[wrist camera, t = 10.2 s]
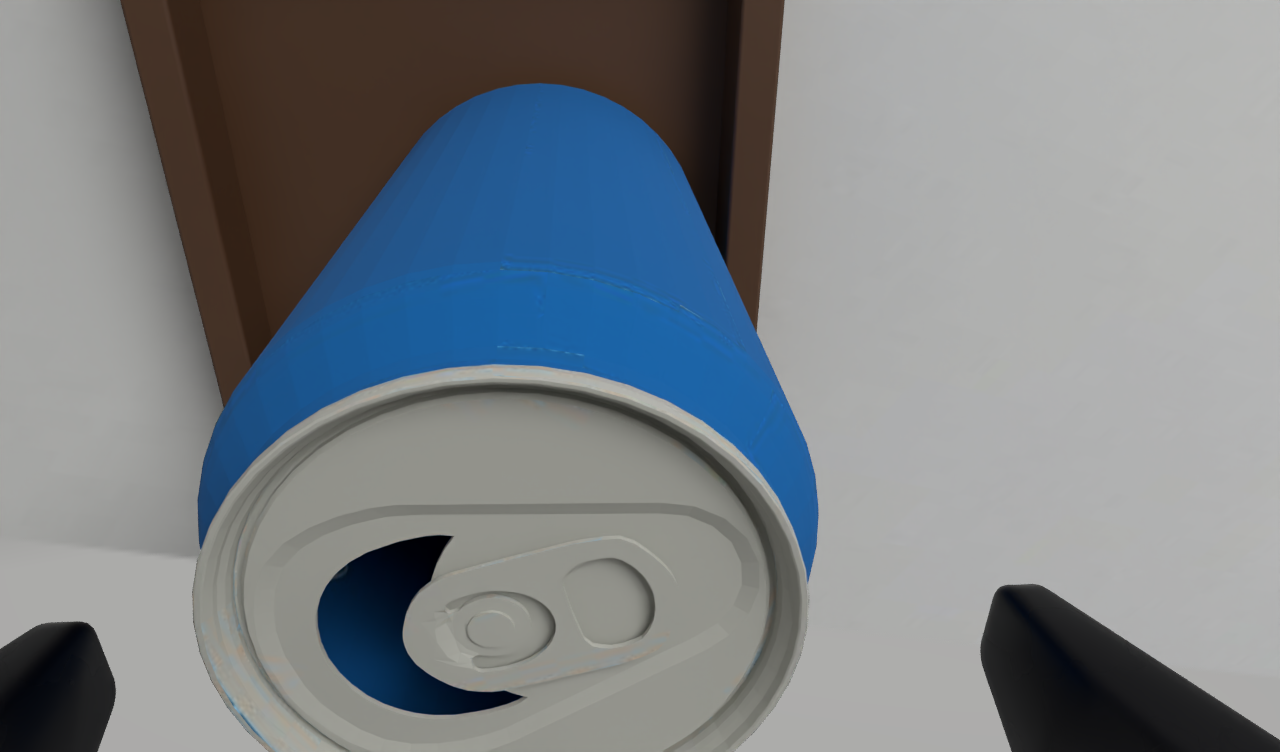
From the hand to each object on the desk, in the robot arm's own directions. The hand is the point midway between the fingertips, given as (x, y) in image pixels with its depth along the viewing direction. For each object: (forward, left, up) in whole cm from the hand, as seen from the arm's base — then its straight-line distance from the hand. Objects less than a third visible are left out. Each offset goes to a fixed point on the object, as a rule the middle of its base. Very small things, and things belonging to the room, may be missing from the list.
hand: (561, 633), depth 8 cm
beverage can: (0, 0, -12) cm, 12 cm away
